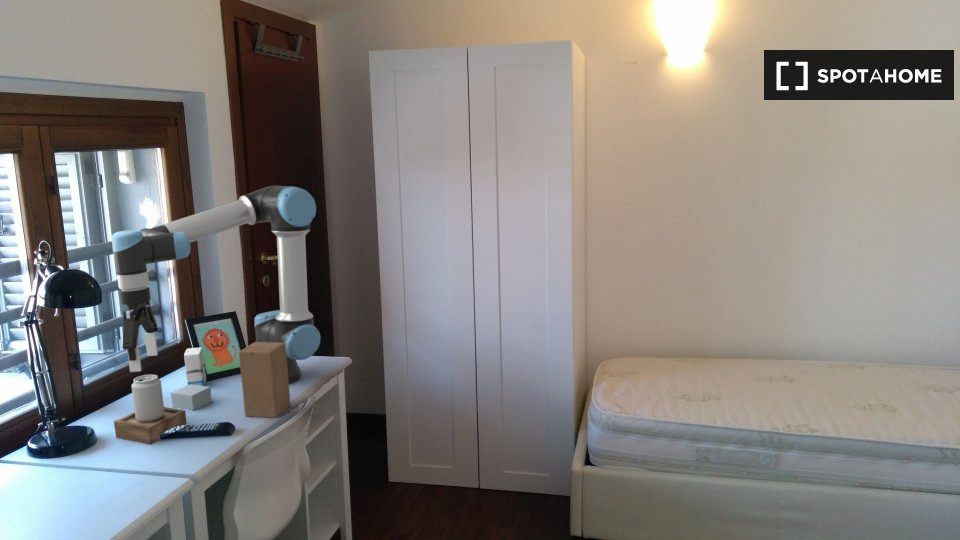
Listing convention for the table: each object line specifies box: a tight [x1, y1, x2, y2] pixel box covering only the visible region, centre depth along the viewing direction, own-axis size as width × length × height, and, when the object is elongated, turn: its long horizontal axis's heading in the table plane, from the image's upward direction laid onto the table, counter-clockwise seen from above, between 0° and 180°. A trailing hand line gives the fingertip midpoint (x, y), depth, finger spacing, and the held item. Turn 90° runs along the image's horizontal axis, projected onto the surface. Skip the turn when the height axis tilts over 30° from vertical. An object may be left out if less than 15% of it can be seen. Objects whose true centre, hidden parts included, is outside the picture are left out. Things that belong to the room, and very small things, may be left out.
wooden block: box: [238, 341, 291, 419], centre depth 221 cm, size 10×10×20 cm
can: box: [131, 374, 165, 422], centre depth 209 cm, size 8×8×12 cm
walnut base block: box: [113, 406, 188, 445], centre depth 210 cm, size 13×13×5 cm
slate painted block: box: [170, 384, 213, 411], centre depth 230 cm, size 8×8×5 cm
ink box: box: [183, 347, 207, 386], centre depth 247 cm, size 9×5×12 cm, turn 13°
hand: (144, 363), depth 207 cm, fingers open, 13 cm apart
